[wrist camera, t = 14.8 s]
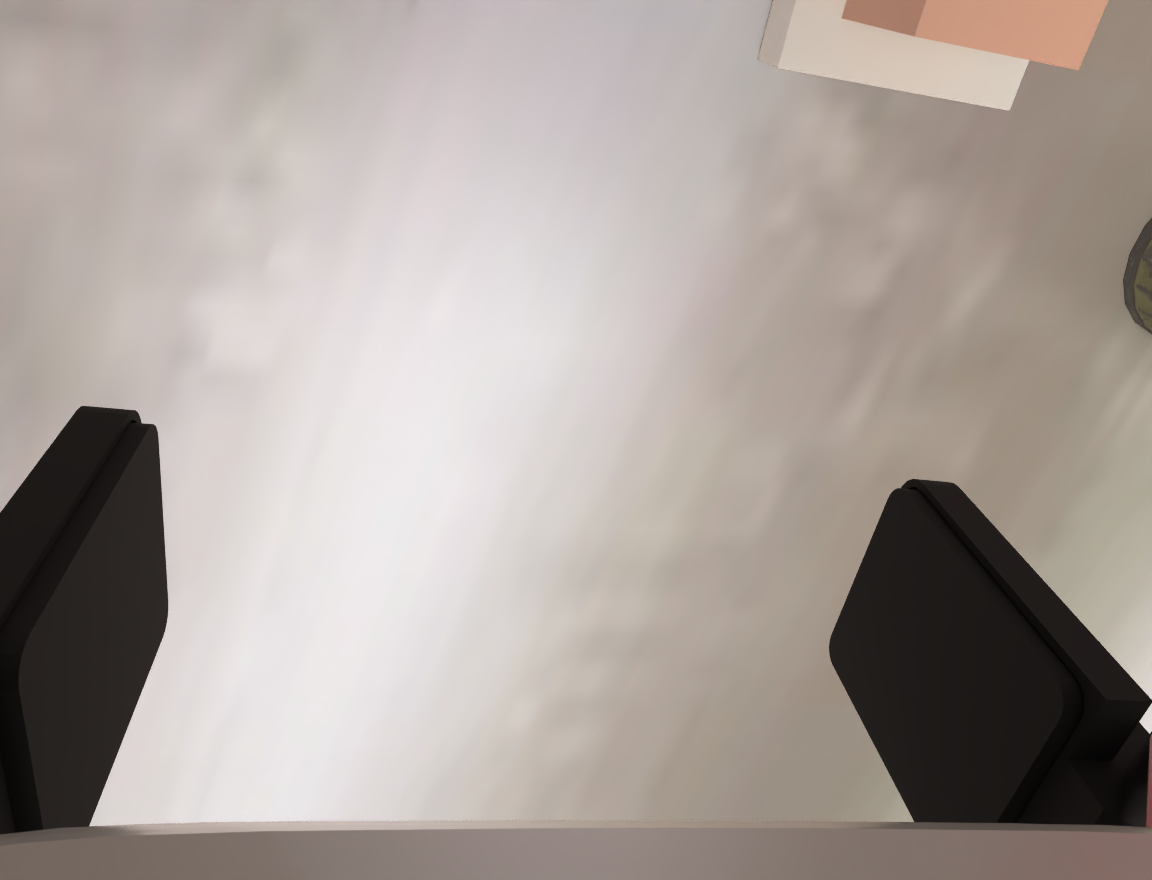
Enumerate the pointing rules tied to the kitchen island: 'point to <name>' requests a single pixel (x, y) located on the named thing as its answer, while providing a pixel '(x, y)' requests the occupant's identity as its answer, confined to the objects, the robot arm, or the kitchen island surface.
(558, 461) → the kitchen island surface
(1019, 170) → the kitchen island surface
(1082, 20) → the cube
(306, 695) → the kitchen island surface
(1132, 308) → the thermos
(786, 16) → the block
